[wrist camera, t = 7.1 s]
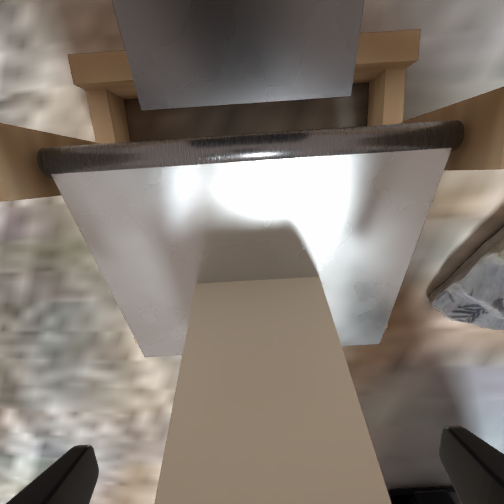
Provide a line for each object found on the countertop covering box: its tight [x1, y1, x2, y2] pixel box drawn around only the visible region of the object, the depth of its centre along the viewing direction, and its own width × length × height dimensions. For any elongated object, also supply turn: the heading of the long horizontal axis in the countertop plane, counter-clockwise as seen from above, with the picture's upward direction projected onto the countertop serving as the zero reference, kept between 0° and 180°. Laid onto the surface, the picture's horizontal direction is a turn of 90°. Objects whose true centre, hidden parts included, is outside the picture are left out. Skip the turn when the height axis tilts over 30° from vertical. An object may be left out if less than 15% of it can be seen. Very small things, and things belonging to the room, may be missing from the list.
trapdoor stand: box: [0, 29, 504, 343], centre depth 13 cm, size 16×16×10 cm
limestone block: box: [155, 277, 391, 504], centre depth 10 cm, size 5×5×7 cm
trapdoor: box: [37, 0, 464, 357], centre depth 10 cm, size 14×12×2 cm
